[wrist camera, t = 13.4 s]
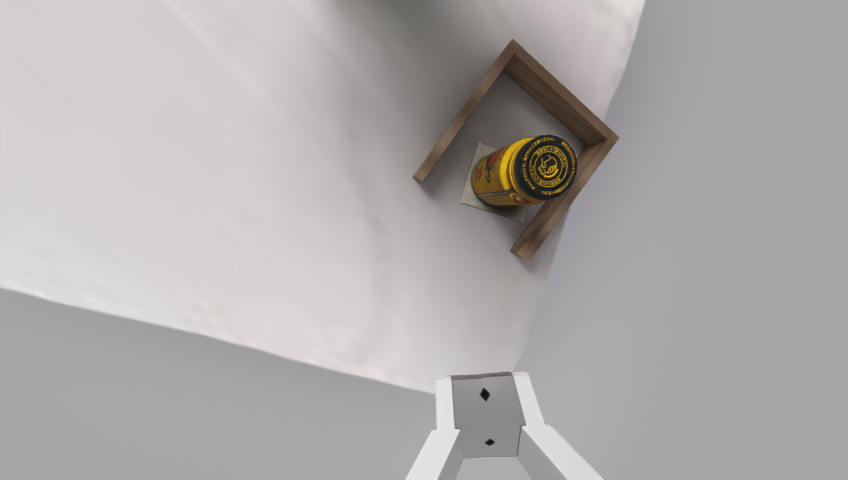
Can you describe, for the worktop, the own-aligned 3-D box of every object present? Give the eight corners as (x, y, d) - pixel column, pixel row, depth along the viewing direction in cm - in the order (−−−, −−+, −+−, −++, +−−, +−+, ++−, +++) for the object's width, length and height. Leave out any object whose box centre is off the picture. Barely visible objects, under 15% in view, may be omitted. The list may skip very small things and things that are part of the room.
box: (516, 255, 37) (529, 260, 34) (412, 176, 34) (416, 173, 31) (597, 143, 37) (619, 137, 33) (499, 55, 34) (512, 38, 31)
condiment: (477, 142, 35) (526, 110, 23) (541, 165, 36) (618, 146, 24) (459, 201, 35) (497, 200, 24) (522, 222, 37) (588, 231, 25)
